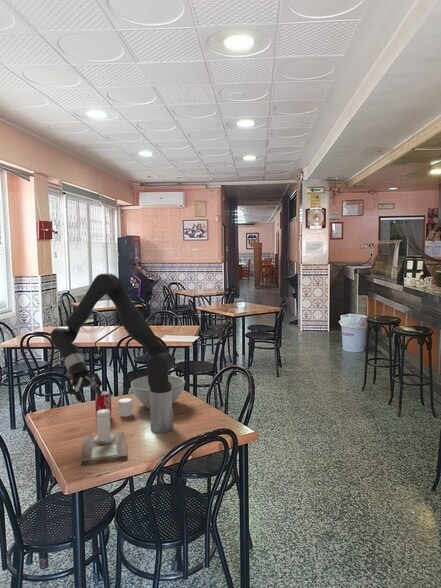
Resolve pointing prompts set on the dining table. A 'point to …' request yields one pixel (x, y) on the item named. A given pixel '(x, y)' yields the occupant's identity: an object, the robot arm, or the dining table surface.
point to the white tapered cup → (125, 406)
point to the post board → (103, 449)
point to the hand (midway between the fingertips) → (90, 398)
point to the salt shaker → (103, 425)
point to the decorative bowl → (143, 388)
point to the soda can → (103, 402)
